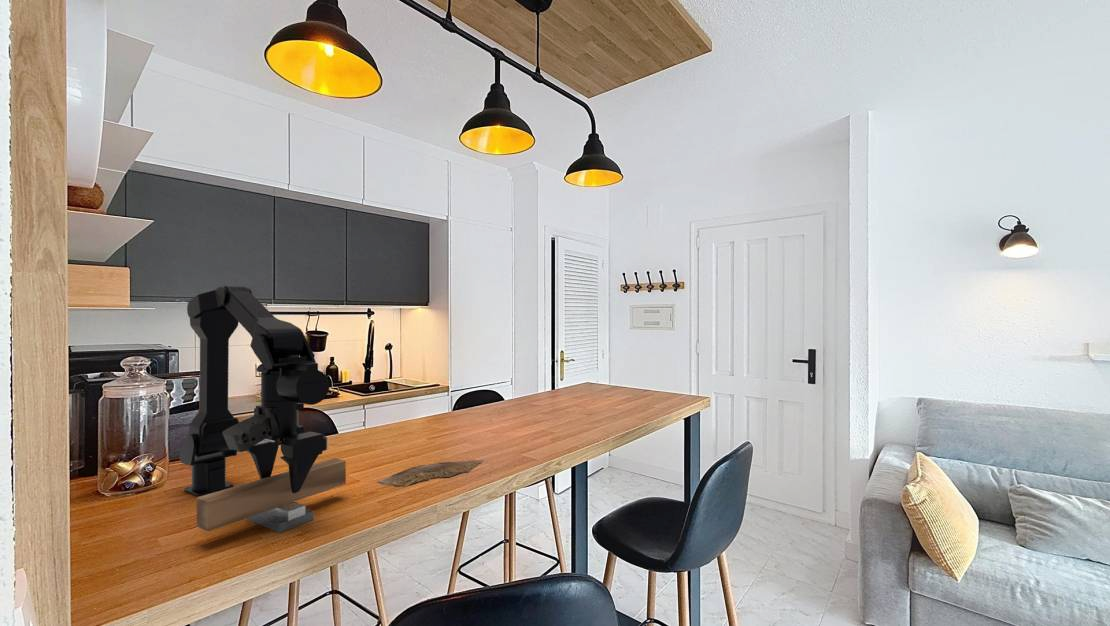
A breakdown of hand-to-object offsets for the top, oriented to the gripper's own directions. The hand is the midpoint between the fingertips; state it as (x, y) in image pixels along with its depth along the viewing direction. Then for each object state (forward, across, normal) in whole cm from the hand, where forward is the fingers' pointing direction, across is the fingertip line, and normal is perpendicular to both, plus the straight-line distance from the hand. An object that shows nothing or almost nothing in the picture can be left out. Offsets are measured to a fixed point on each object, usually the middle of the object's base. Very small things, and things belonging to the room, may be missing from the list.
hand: (280, 487), depth 86 cm
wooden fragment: (+6, +5, +33) cm, 34 cm away
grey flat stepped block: (+6, 0, 0) cm, 6 cm away
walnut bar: (+3, 0, 0) cm, 3 cm away
